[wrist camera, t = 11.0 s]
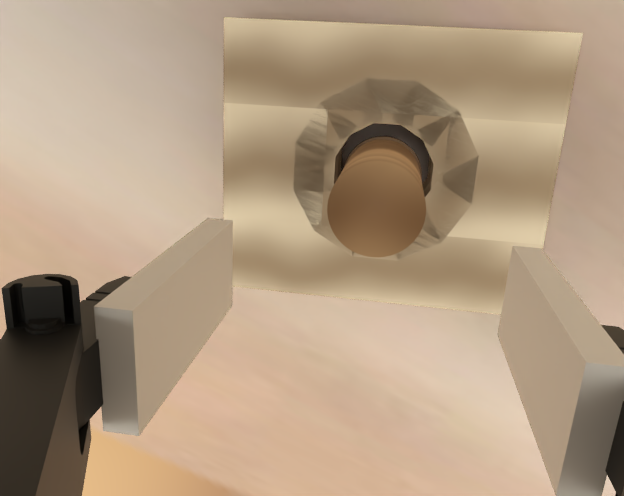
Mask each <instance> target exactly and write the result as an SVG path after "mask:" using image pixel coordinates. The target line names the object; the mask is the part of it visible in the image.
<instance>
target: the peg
mask: <svg viewBox="0 0 624 496" xmlns="http://www.w3.org/2000/svg"><path fill="white" fill-rule="evenodd" d="M327 214H328V220H329V224H330V227H331V229H332V231H333V233H334V234H335V236H336V237H337V239H338V240H339V241H340V242H341V243H342V244H343V245H344V246H345V247H347V248H348V249H349V250H351V251H353V252H355V253H357V254H360V255H363V256H367V257H386V256H391V255H394V254H397V253H399V252H401V251H402V250H404V249H405V248H407V247H408V246H409V245H410V244H412V243H413V242H414V240H415V239H416V238H417V237H418V235H419V234H420V232H421V230H422V228H423V225H424V222H425V217H426V202H425V197H424V191H423V186H422V170H421V166H420V162H419V159H418V157H417V155H416V154H415V152H414V151H413V150H412V149H411V148H410V147H409V146H408V145H407V144H406V143H404V142H403V141H401V140H399V139H396V138H393V137H389V136H378V137H373V138H370V139H367V140H365V141H363V142H362V143H360V144H359V145H358V146H356V147H355V148H354V149H353V151H352V152H351V153H350V155H349V156H348V158H347V160H346V162H345V165H344V169H343V170H342V172H341V174H340V176H339V177H338V179H337V181H336V183H335V184H334V186H333V188H332V190H331V192H330V195H329V199H328V205H327Z"/></svg>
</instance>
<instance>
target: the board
mask: <svg viewBox="0 0 624 496" xmlns="http://www.w3.org/2000/svg"><path fill="white" fill-rule="evenodd" d="M582 36H583V33H573V32H550V31H527V30H504V29H482V28H459V27H436V26H413V25H390V24H367V23H344V22H322V21H299V20H276V19H253V18H230V17H224V130H223V220H233V258H232V286H233V287H243V288H252V289H262V290H271V291H281V292H290V293H300V294H309V295H319V296H328V297H337V298H347V299H356V300H366V301H375V302H385V303H394V304H404V305H413V306H423V307H432V308H441V309H451V310H460V311H470V312H479V313H489V314H498V315H501V312H502V306H503V300H504V294H505V288H506V282H507V276H508V271H509V265H510V259H511V253H512V247H513V246H521V247H532V248H541V249H542V250H543V245H544V239H545V234H546V229H547V223H548V218H549V213H550V207H551V202H552V197H553V191H554V186H555V181H556V175H557V170H558V165H559V159H560V154H561V148H562V143H563V138H564V132H565V127H566V122H567V116H568V111H569V106H570V100H571V95H572V90H573V84H574V79H575V74H576V68H577V63H578V58H579V52H580V47H581V41H582ZM373 123H379V124H394V125H402V126H403V127H404V128H406V129H407V130H409V131H410V132H412V133H413V134H415V135H416V136H418V137H419V138H420V139H422V140H423V142H424V144H425V146H426V148H427V151H428V153H429V155H430V160H429V169H428V177H427V179H426V180H425V181H424V183H423V184H422V186H423V191H424V197H425V202H426V217H425V222H424V225H423V228H422V230H421V232H420V234H419V235H418V237H417V238H416V239H415V240H414V242H413V243H412V244H410V245H409V246H408V247H407V248H405V249H404V250H402V251H401V252H399V253H397V254H394V255H391V256H386V257H367V256H363V255H360V254H357V253H355V252H353V251H351V250H349V249H348V248H347V247H345V246H344V245H343V244H342V243H341V242H340V241H339V240H338V239H337V237H336V236H335V234H334V233H333V231H332V229H331V227H330V224H329V220H328V214H327V205H328V199H329V195H330V192H331V190H332V188H333V186H334V184H335V183H336V181H337V179H338V177H339V176H340V174H341V159H342V147H343V146H344V144H345V143H346V141H347V140H348V138H349V137H350V135H351V134H353V133H355V132H357V131H359V130H361V129H363V128H365V127H367V126H369V125H371V124H373Z"/></svg>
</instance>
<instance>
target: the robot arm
mask: <svg viewBox="0 0 624 496" xmlns="http://www.w3.org/2000/svg"><path fill="white" fill-rule="evenodd" d="M232 258H233V220H222V219H211V218H208V219H206V220H205V221H204V222H202V223H201V224H200V225H198V226H197V227H196V228H195V229H193V230H192V231H191V232H189V233H188V234H187V235H186V236H184V237H183V238H182V239H180V240H179V241H178V242H176V243H175V244H174V245H173V246H171V247H170V248H169V249H167V250H166V251H165V252H164V253H162V254H161V255H160V256H158V257H157V258H156V259H155V260H153V261H152V262H151V263H149V264H148V265H147V266H145V267H144V268H143V269H142V270H140V271H139V272H138V273H136V274H135V275H134V276H133V277H127V276H124V277H122V278H119V279H116V280H113V281H111V282H108V283H106V284H105V285H103V286H102V287H101V288H99V289H98V290H97V291H95V293H92V294H91V295H90V296H88V297H87V298H86V300H83V301H81V302H80V299H79V287H78V281H77V280H76V279H74V278H73V277H71V276H66V275H60V274H43V275H33V276H28V277H24V278H20V279H17V280H14V281H12V282H10V283H8V284H6V285H5V286H4V287H3V288H2V294H3V302H4V310H5V318H6V325H7V330H6V331H5V333H4V335H3V337H2V339H0V496H82V490H83V485H84V479H85V473H86V467H87V460H88V454H89V448H90V442H91V431H90V418H91V417H92V416H93V415H94V414H95V413H96V411H97V410H98V409H99V408H100V407H102V420H103V431H107V432H114V433H121V434H128V435H135V436H139V435H140V434H141V433H142V431H143V430H144V428H145V427H146V426H147V424H148V423H149V421H150V420H151V419H152V417H153V416H154V414H155V413H156V412H157V410H158V409H159V407H160V406H161V405H162V403H163V402H164V400H165V399H166V398H167V396H168V395H169V393H170V392H171V391H172V389H173V388H174V386H175V385H176V384H177V382H178V381H179V379H180V378H181V377H182V375H183V374H184V372H185V371H186V370H187V368H188V367H189V365H190V364H191V363H192V361H193V360H194V358H195V357H196V356H197V354H198V353H199V351H200V350H201V349H202V347H203V346H204V344H205V343H206V342H207V340H208V339H209V337H210V336H211V335H212V333H213V332H214V330H215V329H216V328H217V326H218V325H219V323H220V322H221V321H222V319H223V318H224V316H225V315H226V314H227V312H228V311H229V309H230V308H231V307H232ZM498 337H499V340H500V343H501V346H502V348H503V351H504V354H505V357H506V359H507V362H508V365H509V368H510V370H511V373H512V376H513V379H514V381H515V384H516V387H517V390H518V393H519V395H520V398H521V401H522V404H523V406H524V409H525V412H526V415H527V417H528V420H529V423H530V426H531V428H532V431H533V434H534V437H535V439H536V442H537V445H538V448H539V450H540V453H541V456H542V459H543V462H544V464H545V467H546V470H547V473H548V475H549V478H550V481H551V484H552V486H553V489H554V492H555V495H556V496H602V492H603V488H604V484H605V480H606V476H607V475H608V477H609V479H610V481H611V483H612V485H613V487H614V489H615V491H616V495H615V496H624V330H623V329H621V328H619V327H615V326H605V325H601V324H600V323H599V322H598V321H597V319H596V318H595V317H594V315H593V314H592V313H591V312H590V310H589V309H588V308H587V306H586V305H585V304H584V303H583V301H582V300H581V299H580V297H579V296H578V295H577V294H576V292H575V291H574V290H573V289H572V287H571V286H570V285H569V283H568V282H567V281H566V280H565V278H564V277H563V276H562V274H561V273H560V272H559V271H558V269H557V268H556V267H555V265H554V264H553V263H552V262H551V260H550V259H549V258H548V256H547V255H546V254H545V253H544V251H543V250H542V249H541V248H532V247H521V246H513V247H512V253H511V259H510V265H509V271H508V276H507V282H506V288H505V294H504V300H503V306H502V312H501V318H500V324H499V330H498Z"/></svg>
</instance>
